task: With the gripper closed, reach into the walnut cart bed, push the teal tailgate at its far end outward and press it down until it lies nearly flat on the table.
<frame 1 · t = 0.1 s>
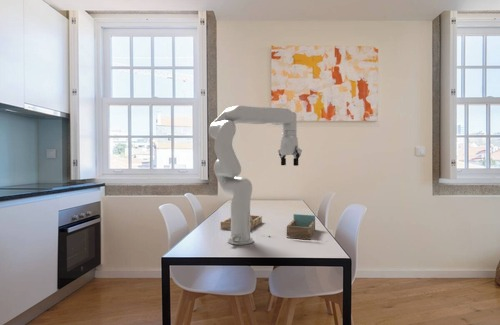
hand: (289, 165, 168), 37 cm above the table, tool pointing down, fingers open, 9 cm apart
squash: (242, 225, 185), resting in vegetable crate
tailgate: (304, 221, 171), point 5 cm above the table, hinge at 0.0°
vegetable crate: (242, 225, 185), on the table
cart bed: (301, 235, 162), on the table
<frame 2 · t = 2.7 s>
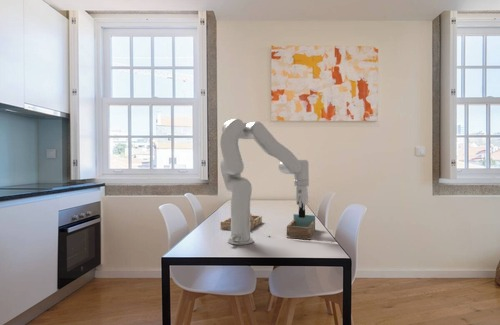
hand: (301, 217, 161), 10 cm above the table, tool pointing down, fingers closed
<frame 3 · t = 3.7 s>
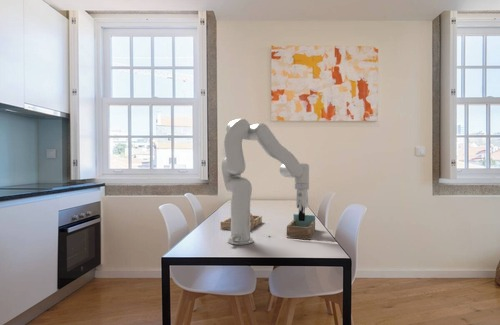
hand: (301, 220, 162), 8 cm above the table, tool pointing down, fingers closed
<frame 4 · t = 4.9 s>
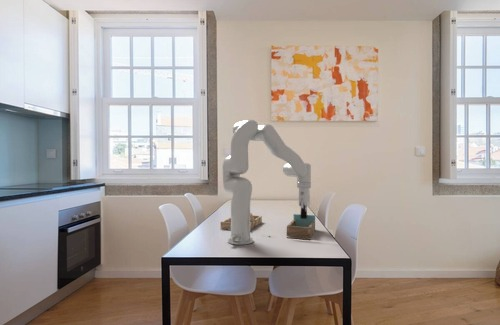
hand: (303, 218, 169), 8 cm above the table, tool pointing down, fingers closed
squash: (242, 225, 186), resting in vegetable crate
tailgate: (304, 221, 171), point 5 cm above the table, hinge at 0.0°, touching gripper
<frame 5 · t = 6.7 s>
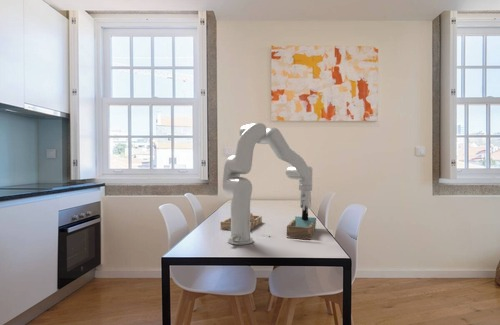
hand: (305, 219, 174), 6 cm above the table, tool pointing down, fingers closed
tailgate: (304, 223, 173), point 4 cm above the table, hinge at 43.2°, touching gripper
everything else where it was.
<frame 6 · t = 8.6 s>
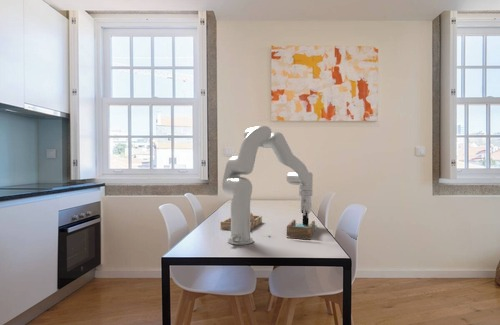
hand: (305, 224, 176), 3 cm above the table, tool pointing down, fingers closed
tailgate: (305, 227, 174), point 1 cm above the table, hinge at 81.2°
everything else where it was.
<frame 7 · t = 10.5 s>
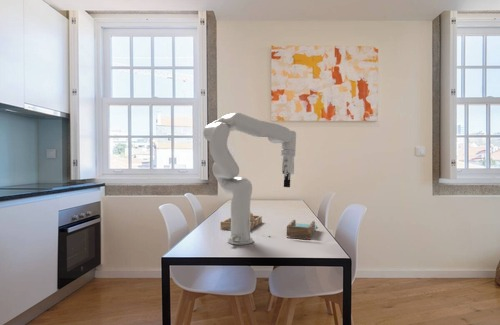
hand: (286, 187, 164), 25 cm above the table, tool pointing down, fingers closed
nothing on the table moved.
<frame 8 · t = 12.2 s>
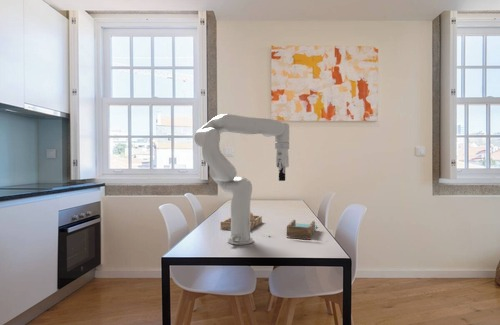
hand: (282, 180, 162), 29 cm above the table, tool pointing down, fingers closed
nothing on the table moved.
at the end: tailgate at +81° (first picture: +0°) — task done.
